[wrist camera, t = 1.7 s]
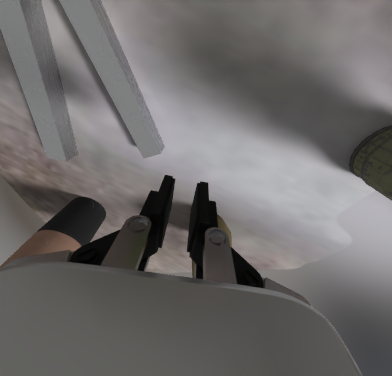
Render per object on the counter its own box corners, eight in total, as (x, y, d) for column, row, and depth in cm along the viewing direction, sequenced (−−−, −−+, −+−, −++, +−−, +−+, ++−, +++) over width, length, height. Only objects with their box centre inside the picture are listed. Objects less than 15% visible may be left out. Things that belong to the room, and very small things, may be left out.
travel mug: (94, 227, 37) (9, 345, 21) (62, 206, 34) (-68, 328, 18) (114, 213, 35) (34, 337, 18) (82, 189, 31) (-52, 314, 15)
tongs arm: (50, -46, 15) (23, -67, 13) (73, -61, 15) (49, -87, 12) (149, 151, 26) (143, 158, 24) (164, 146, 26) (160, 153, 23)
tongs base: (-49, -200, 12) (-149, -310, 8) (50, -168, 12) (-7, -259, 9) (59, 150, 27) (39, 161, 24) (101, 158, 27) (87, 169, 24)
